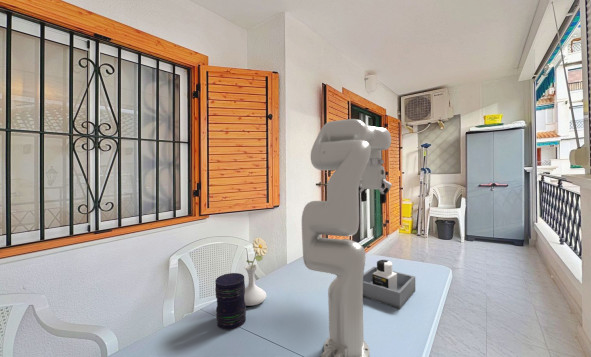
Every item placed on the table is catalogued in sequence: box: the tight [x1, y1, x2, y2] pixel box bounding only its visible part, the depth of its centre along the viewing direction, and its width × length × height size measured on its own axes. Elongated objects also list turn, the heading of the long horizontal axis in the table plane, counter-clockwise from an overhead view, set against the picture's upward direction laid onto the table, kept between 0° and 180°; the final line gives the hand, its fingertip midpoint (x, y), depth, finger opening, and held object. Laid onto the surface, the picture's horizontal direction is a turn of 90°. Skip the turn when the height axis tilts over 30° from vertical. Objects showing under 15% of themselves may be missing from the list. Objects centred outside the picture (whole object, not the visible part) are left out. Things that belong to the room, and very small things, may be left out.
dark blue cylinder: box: [214, 272, 247, 331], centre depth 89 cm, size 10×10×15 cm
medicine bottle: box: [373, 259, 397, 290], centre depth 106 cm, size 7×7×12 cm
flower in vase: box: [244, 236, 269, 307], centre depth 102 cm, size 13×11×25 cm
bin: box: [363, 266, 416, 310], centre depth 106 cm, size 18×18×6 cm
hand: (373, 202), depth 113 cm, fingers open, 9 cm apart
